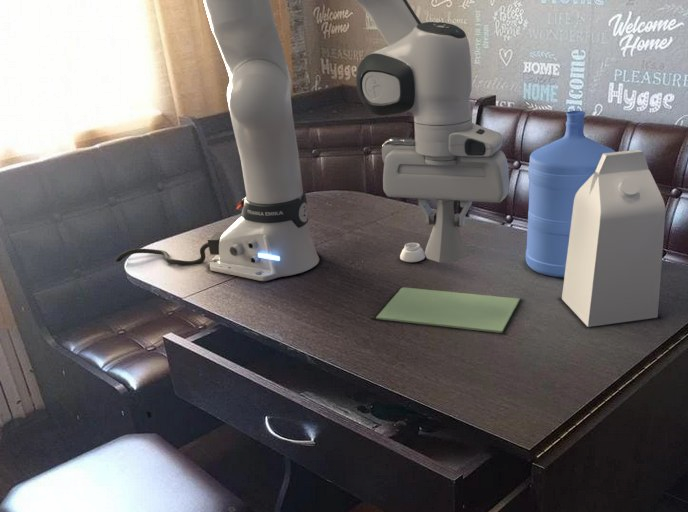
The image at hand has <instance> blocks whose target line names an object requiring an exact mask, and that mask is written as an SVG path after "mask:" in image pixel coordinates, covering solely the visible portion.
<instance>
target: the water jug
mask: <svg viewBox="0 0 688 512" xmlns="http://www.w3.org/2000/svg"><path fill="white" fill-rule="evenodd" d="M585 115H586V112H585V111H584V110H570V111H567V112H566V122H565V133H564V136H562V137H560V138H557V139H556V140H554V141H552V142H549V143H547V144H545V145H543V146H541V147H539V148H537V149H534V150H533V151H532V152H531V154H530V155H529V164H528V173H527V175H528V212H527V229H526V230H527V231H526V249H525V263H526V264H527V266H528V267H529V268H530V269H531V270H533V271H534V272H536V273H539V274H541V275H544V276H547V277H552V278H553V277H554V278H560V279H561V278H563V279H564V277H565V269H566V261H567V253H568V245H569V237H570V229H571V221H572V213H573V205H574V198H575V195H576V193H577V192H578V190H579V189H580V188H581V187H582V186H583V184H584V183H585V182H586V181H587V180H588V179H589V178H590V177H591V176H592V175H593V174H594V173H595V170H596V168H597V166H598V164H599V161H600V159H601V157H602V154H603V153H612V152H616V150H614V149H612V148H611V147H609V146H607V145H605V144H602V143H600V142H598V141H595V140H594V139H591V138H589V137H587V136H585V134H584V129H585V128H584V127H585V122H586V121H585Z"/></svg>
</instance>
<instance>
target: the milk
mask: <svg viewBox="0 0 688 512" xmlns="http://www.w3.org/2000/svg"><path fill="white" fill-rule="evenodd" d="M665 224H666V203H665V201H664V197H663V195H662V194H661V192H660V189H659V187H658V185H657V182H656V181H655V179H654V177H653V174H652V173H651V170H650V169H649V165H648V162H647V159H646V156H645V154H644V151H643V150H641V149H633V150H632V149H631V150H623V151H615V152H612V153H603V154H602V157H601V159H600V161H599V164H598V166H597V168H596V170H595V173H594V174H593V175H592V176H591V177H590V178H589V179H588V180H587V181H586V182H585V183H584V184H583V186H582V187H581V188H580V189H579V190H578V192H577V193H576V195H575V198H574V205H573V213H572V221H571V229H570V237H569V245H568V253H567V261H566V269H565V277H564V278H563V285H562V294H561V300H562V301H563V302H564V303H565V304H566V305H567V306H568V307H569V309H570V310H571V311H572V312H573V313H574V314H575V315H576V316H577V317H578V318H579V319H580V321H581V322H582V323H583V324H585V326H586V327H587V328H592V327H598V326H605V325H612V324H620V323H627V322H634V321H642V320H649V319H656V318H658V317H659V305H660V292H661V277H662V266H663V265H662V264H663V263H662V262H663V254H664V253H663V252H664V251H663V250H664V240H665V239H664V238H665Z"/></svg>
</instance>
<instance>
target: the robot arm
mask: <svg viewBox="0 0 688 512" xmlns="http://www.w3.org/2000/svg"><path fill="white" fill-rule="evenodd" d="M202 1H203V4H204V8H205V12H206V16H207V18H208V22H209V26H210V29H211V31H212V35H213V36H214V38H215V41H216V43H217V46H218V49H219V52H220V54H221V57H222V59H223V62H224V65H225V68H226V72H227V73H228V77H229V82H228V85H227V89H226V99H227V106H228V110H229V114H230V115H229V116H230V120H231V125H232V129H233V133H234V138H235V142H236V146H237V150H238V155H239V159H240V164H241V171H242V177H243V183H244V190H245V195H246V196H245V197H244V198H242V199H241V200H240V201H239V202H237V203H236V204H235V206H237V207H236V208H235V210H237V211H239V210H240V209H242V210H241V215H240V217H238V218H237V219H236V220H235V221H234V222H233V223H232V224H231V225H230V226H229V227H228V228H227V229H226V230H224V231H216V232H215V233H213V235H211V236H210V237H209V238H208V239H207V242H205V243H204V244H202V245H201V247H200V248H199V254H200V257H198V258H197V259H195V260H181V259H173V258H171V257H170V254H169V253H168V252H167V251H166V250H162V249H154V248H153V249H152V248H132V249H128V250H126V251H124V252H122V253H120V254H119V255H118V256H117V257H116V258H115V260H114V261H115V263H118V262H121V261H122V260H123V259H124V258H126V257H128V256H131V255H135V254H152V255H158V256H159V255H160V256H163V257H164V259H165V261H166V262H167V263H169V264H172V265H178V266H193V265H198V264H202V263H203V262H204V261H205V260H206V258H207V257H206V250H207V249H208V250H209V255H211V256H214V257H213V258H212V259H211V261H210V262H209V270H210V271H211V272H217V273H221V274H226V275H231V276H236V277H241V278H245V279H250V280H255V281H259V282H269V281H272V280H274V279H278V278H281V277H288V276H295V275H297V274H302V273H304V272H308V271H309V270H311V269H313V268H315V267H317V265H318V264H319V262H320V257H319V255H318V253H317V250H316V247H315V244H314V241H313V238H312V234H311V230H310V225H309V209H308V202H307V201H308V200H307V195H306V192H305V191H304V189H303V188H304V187H303V180H302V170H301V162H300V153H299V148H298V147H299V146H298V142H297V141H298V140H297V135H296V128H295V121H294V114H293V107H292V91H293V83H292V78H291V74H290V71H289V66H288V63H287V59H286V55H285V52H284V48H283V44H282V41H281V38H280V34H279V30H278V27H277V24H276V20H275V16H274V13H273V9H272V5H271V1H270V0H202ZM353 1H354V2H355V3H357V4H358V5H359V6H360V7H361V8H362V9H363V10H364V11H365V12H366V14H367V15H368V17H369V18H370V20H371V21H372V23H373V25H374V27H375V28H376V29H377V31H378V32H379V34H380V35H381V37H382V38H383V40H384V41H385V43H386V45H388V46H386V47H383V48H380V49H376V50H375V51H373V52H371V53H369V54H368V55H366V56H365V57H364V58H363V59H362V60H361V61H360V63H359V65H358V67H357V70H356V75H355V87H356V91H357V94H358V97H359V99H360V101H361V103H362V104H363V106H364V107H365V108H366V109H367V110H368V111H369V112H370V113H371V114H374V115H377V116H382V117H383V116H385V117H386V116H387V117H388V116H395V115H398V114H402V113H411V114H412V115H413V124H414V137H397V136H395V137H390V138H389V139H387V140H385V141H384V143H382V146H381V159H382V162H383V173H382V190H383V192H384V194H385V195H386V196H387V197H388V198H399V199H400V198H402V199H417V202H418V203H417V204H418V207H419V208H420V210H421V211H422V213H423V214H424V216H425V225H426V226H434V225H435V219H436V213H437V211H433V209H432V208H431V205H430V204H429V203H430V202H431V200H435V199H437V200H455V202H456V201H458V202H459V207H460V208H462V210H461V212H460V213H457V212H456V214H455V216H454V222H455V223H454V226H455V227H458V228H464V227H465V226H466V221H467V220H466V217H467V216H466V215H467V214H468V212H469V210H470V208H471V207H472V205H473V202H477V203H495V204H498V203H502V202H503V201H504V200H505V199H506V197H507V196H508V194H509V193H510V171H509V165H508V160H507V157H506V154H505V153H504V152H503V151H502V150H501V147H502V145H503V142H504V141H503V140H504V139H503V138H504V137H503V134H502V133H501V132H498V131H496V130H493V129H490V128H488V127H484V126H481V125H480V124H476V123H474V122H473V113H472V109H471V104H470V99H471V98H470V97H471V93H472V89H473V71H472V70H473V69H472V56H471V48H470V41H469V39H468V36H467V33H466V32H465V30H463V29H462V28H460V27H459V26H458V25H455V24H453V23H448V22H443V21H442V22H441V21H438V22H435V21H425V22H421V20H420V19H419V17H418V16H417V14H416V13H415V11H414V10H413V8H412V6H411V5H410V3H409V2H408V0H353ZM145 413H146V417H147V418H148V419H150V418H152V412H151V411H146V412H145Z"/></svg>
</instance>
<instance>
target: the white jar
mask: <svg viewBox="0 0 688 512" xmlns="http://www.w3.org/2000/svg"><path fill="white" fill-rule="evenodd" d="M403 247H404V248H402V250H401V252H400V255H399V259H400V260H401V261H403V262H406V263H418V262H421V261H423V260H424V259H425V258H426V255H425V250H424V249H423V248H422V247H421V245H420V243H418V242H407V243H405V244H404V246H403Z"/></svg>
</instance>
